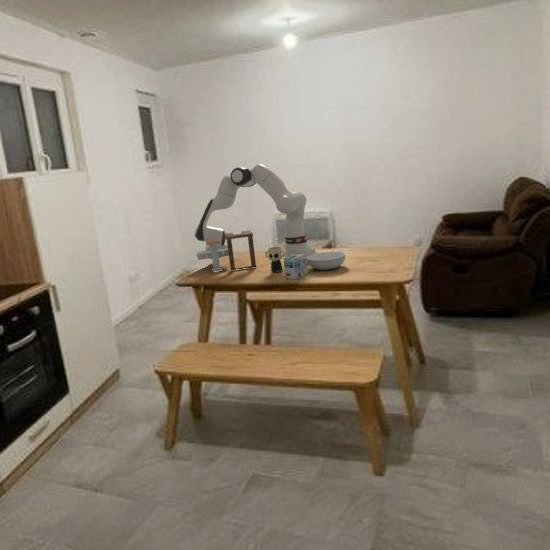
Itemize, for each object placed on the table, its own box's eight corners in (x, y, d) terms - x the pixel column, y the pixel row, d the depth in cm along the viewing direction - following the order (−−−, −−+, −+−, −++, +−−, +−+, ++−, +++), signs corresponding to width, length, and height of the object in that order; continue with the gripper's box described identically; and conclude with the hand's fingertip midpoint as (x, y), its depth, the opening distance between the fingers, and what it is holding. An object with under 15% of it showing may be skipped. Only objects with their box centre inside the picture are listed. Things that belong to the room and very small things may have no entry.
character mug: (265, 273, 264) (262, 249, 261) (269, 270, 271) (266, 247, 267) (284, 272, 261) (282, 248, 258) (288, 269, 267) (285, 246, 264)
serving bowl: (348, 262, 268) (347, 250, 266) (343, 272, 248) (342, 259, 247) (311, 264, 274) (310, 252, 272) (303, 273, 254) (302, 261, 253)
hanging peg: (209, 270, 285) (205, 240, 281) (223, 268, 287) (219, 238, 282) (210, 273, 278) (206, 242, 273) (224, 271, 279) (220, 240, 275)
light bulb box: (295, 279, 245) (293, 258, 242) (284, 278, 249) (282, 258, 246) (307, 274, 253) (305, 253, 250) (296, 273, 257) (294, 253, 254)
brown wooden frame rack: (228, 267, 289) (224, 233, 284) (253, 263, 291) (249, 230, 286) (230, 272, 276) (226, 237, 271) (257, 268, 278) (252, 233, 273)
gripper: (195, 249, 290) (196, 253, 277) (229, 244, 293) (232, 248, 280) (197, 259, 292) (197, 264, 278) (231, 254, 295) (233, 258, 281)
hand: (215, 256), depth 279 cm, fingers open, 7 cm apart
